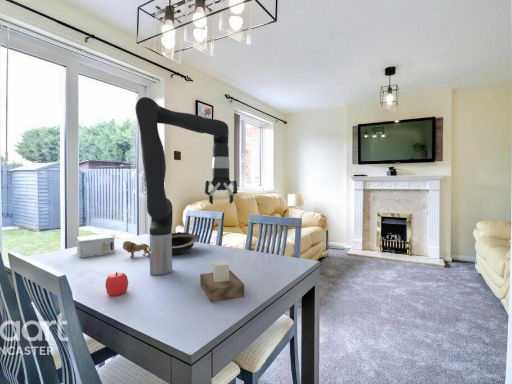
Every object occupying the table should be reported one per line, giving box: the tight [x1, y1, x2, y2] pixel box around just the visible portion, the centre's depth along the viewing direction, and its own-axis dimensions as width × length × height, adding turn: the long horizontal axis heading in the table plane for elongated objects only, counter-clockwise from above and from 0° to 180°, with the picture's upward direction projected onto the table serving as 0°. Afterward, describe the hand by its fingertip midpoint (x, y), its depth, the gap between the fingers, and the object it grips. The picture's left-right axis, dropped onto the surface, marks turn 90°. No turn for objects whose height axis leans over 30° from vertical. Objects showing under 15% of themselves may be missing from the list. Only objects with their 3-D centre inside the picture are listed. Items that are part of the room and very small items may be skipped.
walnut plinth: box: [199, 269, 245, 304], centre depth 102 cm, size 12×16×5 cm
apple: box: [104, 271, 129, 297], centre depth 100 cm, size 8×8×8 cm
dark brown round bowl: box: [172, 231, 200, 256], centre depth 157 cm, size 25×25×9 cm
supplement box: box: [76, 232, 116, 258], centre depth 155 cm, size 17×13×9 cm
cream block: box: [212, 259, 230, 282], centre depth 102 cm, size 5×5×6 cm
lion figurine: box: [122, 240, 150, 259], centre depth 147 cm, size 15×5×9 cm, turn 117°
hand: (221, 203), depth 124 cm, fingers open, 8 cm apart
